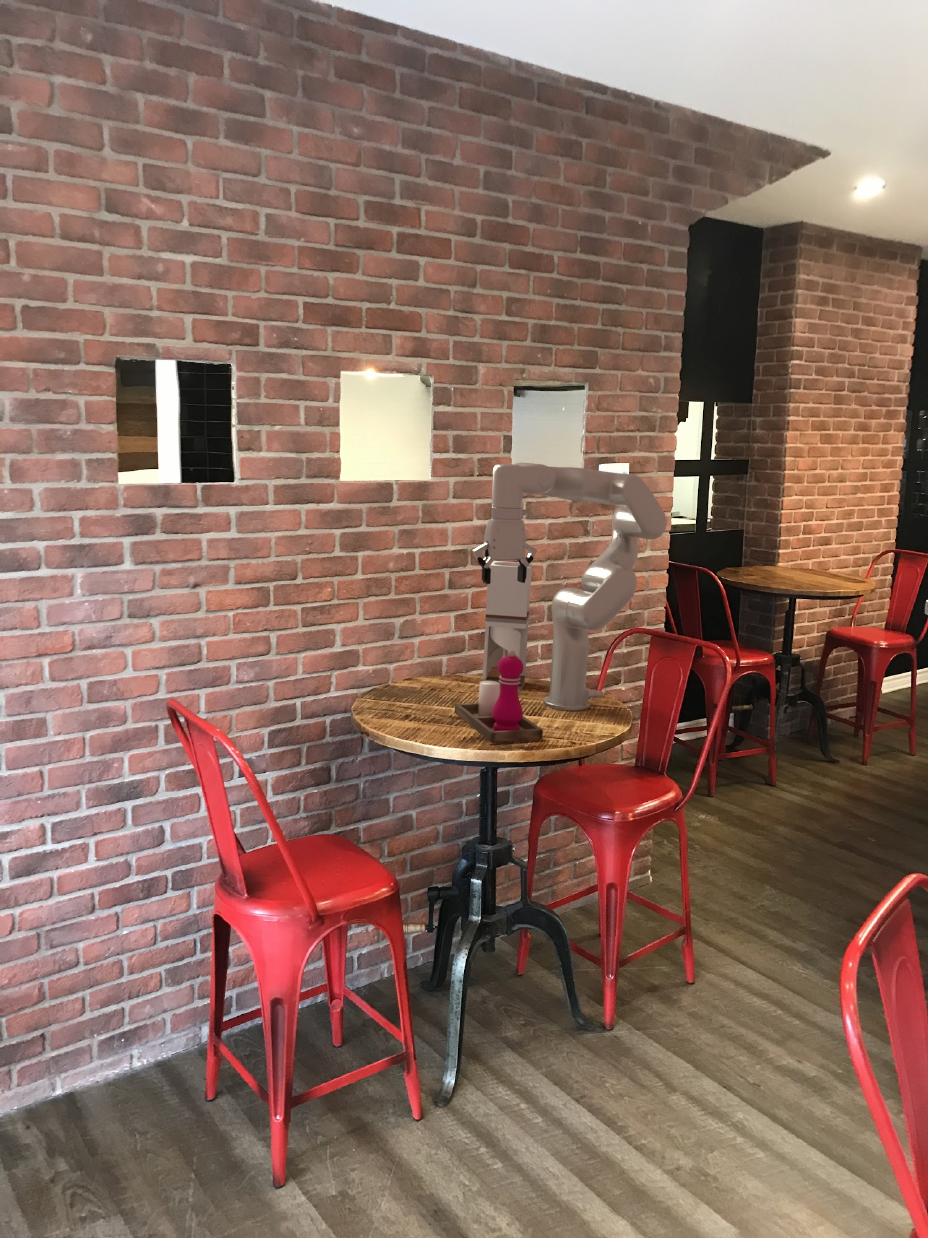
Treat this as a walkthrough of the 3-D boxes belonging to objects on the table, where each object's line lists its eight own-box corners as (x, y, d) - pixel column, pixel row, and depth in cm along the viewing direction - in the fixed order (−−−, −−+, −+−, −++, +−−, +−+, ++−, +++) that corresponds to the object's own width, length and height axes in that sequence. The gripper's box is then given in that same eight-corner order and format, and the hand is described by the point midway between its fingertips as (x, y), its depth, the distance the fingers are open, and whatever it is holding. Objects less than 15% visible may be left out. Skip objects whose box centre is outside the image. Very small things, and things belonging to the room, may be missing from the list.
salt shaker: (493, 715, 248) (495, 680, 246) (500, 720, 243) (502, 685, 242) (474, 716, 246) (476, 681, 245) (482, 721, 242) (484, 686, 240)
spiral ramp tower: (481, 687, 278) (488, 565, 272) (486, 679, 289) (492, 560, 283) (521, 690, 277) (529, 567, 271) (524, 682, 287) (532, 563, 281)
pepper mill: (512, 738, 229) (517, 654, 226) (485, 732, 233) (490, 649, 229) (526, 731, 235) (532, 650, 232) (500, 725, 239) (506, 645, 235)
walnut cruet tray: (502, 713, 253) (502, 701, 253) (542, 742, 230) (542, 729, 230) (454, 715, 249) (455, 704, 248) (490, 745, 226) (491, 732, 225)
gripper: (530, 512, 250) (527, 579, 253) (468, 513, 243) (466, 581, 247) (544, 515, 243) (541, 583, 247) (481, 516, 237) (478, 586, 240)
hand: (503, 582), depth 247 cm, fingers open, 9 cm apart
